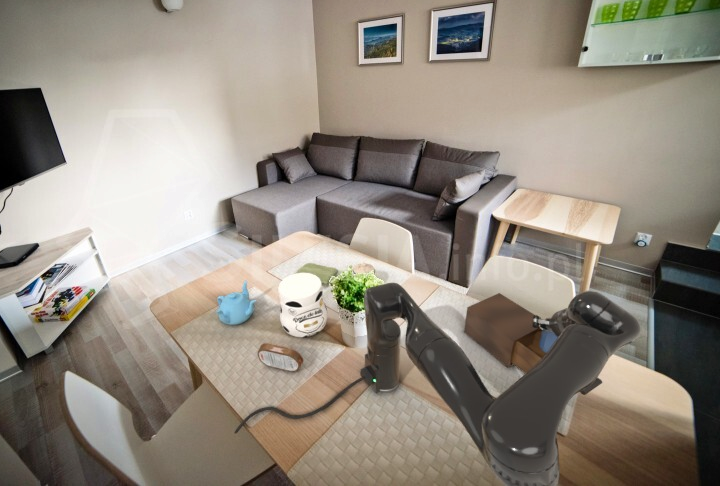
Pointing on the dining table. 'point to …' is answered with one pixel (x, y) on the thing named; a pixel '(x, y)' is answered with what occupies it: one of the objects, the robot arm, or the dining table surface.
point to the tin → (280, 357)
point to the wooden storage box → (498, 326)
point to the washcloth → (319, 272)
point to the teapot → (235, 307)
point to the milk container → (302, 305)
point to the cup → (547, 340)
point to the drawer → (536, 356)
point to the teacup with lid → (363, 268)
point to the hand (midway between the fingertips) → (555, 329)
